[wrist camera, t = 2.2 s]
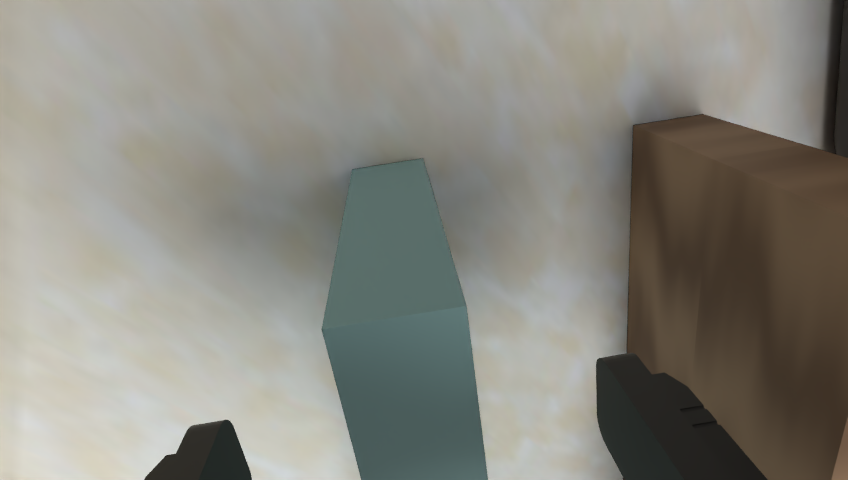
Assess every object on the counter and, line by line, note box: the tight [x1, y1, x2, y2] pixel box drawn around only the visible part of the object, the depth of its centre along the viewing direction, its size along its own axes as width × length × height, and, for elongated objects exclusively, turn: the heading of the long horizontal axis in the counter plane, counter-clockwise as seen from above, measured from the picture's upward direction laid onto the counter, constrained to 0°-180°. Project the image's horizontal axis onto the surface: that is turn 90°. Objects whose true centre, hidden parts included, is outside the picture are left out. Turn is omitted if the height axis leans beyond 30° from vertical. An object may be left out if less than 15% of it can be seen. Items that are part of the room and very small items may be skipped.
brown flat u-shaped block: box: [623, 114, 848, 480], centre depth 17 cm, size 20×2×10 cm, turn 8°
